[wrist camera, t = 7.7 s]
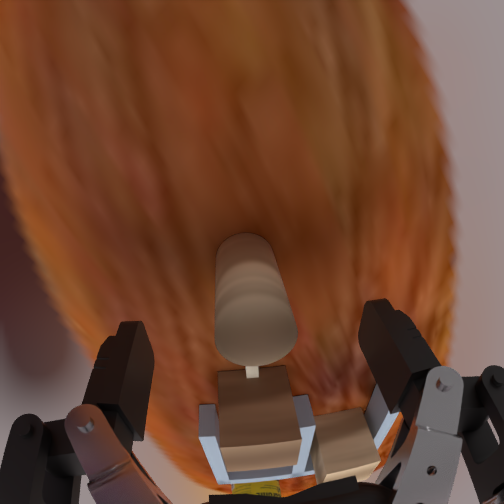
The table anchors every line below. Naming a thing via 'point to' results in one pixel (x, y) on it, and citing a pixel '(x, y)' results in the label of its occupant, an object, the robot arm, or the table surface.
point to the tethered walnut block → (254, 357)
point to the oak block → (343, 446)
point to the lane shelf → (375, 418)
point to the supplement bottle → (258, 488)
